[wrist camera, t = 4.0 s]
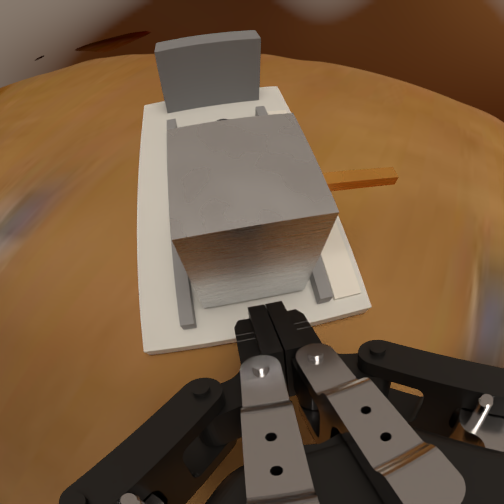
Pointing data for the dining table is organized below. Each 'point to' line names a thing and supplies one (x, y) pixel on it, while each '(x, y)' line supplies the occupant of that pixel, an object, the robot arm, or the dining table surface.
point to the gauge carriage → (252, 205)
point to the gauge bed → (158, 211)
